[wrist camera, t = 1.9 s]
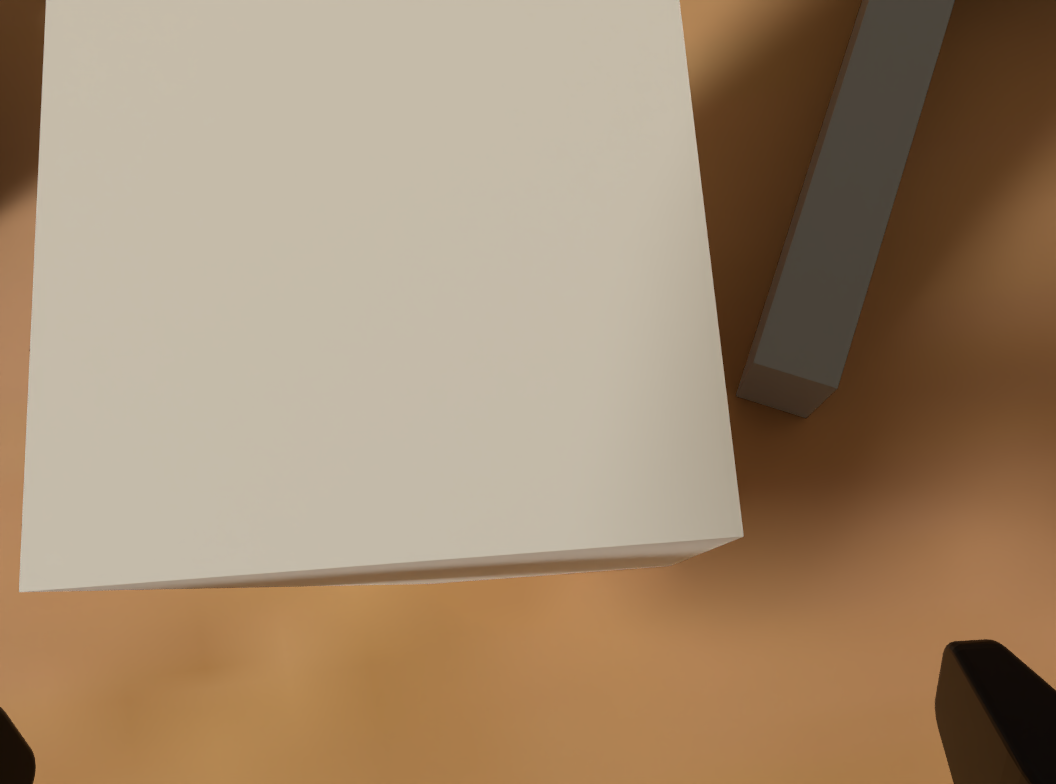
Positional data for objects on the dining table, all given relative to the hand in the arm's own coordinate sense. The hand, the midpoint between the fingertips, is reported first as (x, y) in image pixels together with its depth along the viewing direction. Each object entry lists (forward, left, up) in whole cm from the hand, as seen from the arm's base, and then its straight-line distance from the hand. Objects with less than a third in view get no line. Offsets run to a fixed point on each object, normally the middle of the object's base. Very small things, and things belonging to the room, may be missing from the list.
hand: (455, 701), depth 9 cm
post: (+3, +2, -10) cm, 11 cm away
